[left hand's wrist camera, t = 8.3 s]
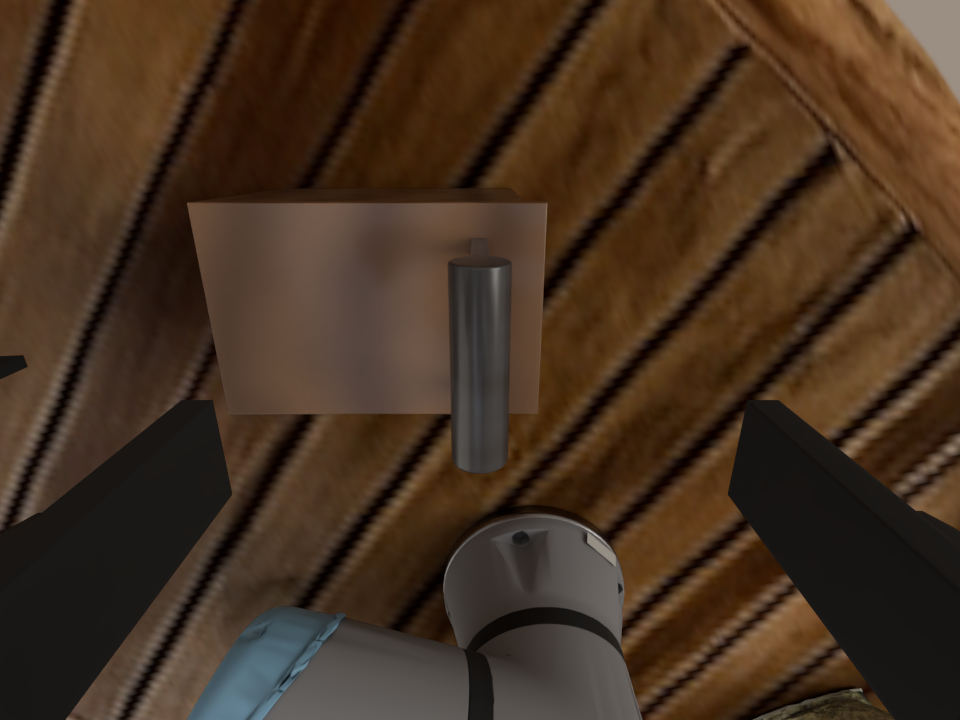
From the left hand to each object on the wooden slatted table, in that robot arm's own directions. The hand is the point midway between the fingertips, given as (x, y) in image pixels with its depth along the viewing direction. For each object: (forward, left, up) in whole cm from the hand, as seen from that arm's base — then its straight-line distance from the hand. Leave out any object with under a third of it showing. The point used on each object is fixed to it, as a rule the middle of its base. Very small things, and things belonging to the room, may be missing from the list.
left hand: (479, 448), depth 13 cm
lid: (-3, +4, -13) cm, 14 cm away
